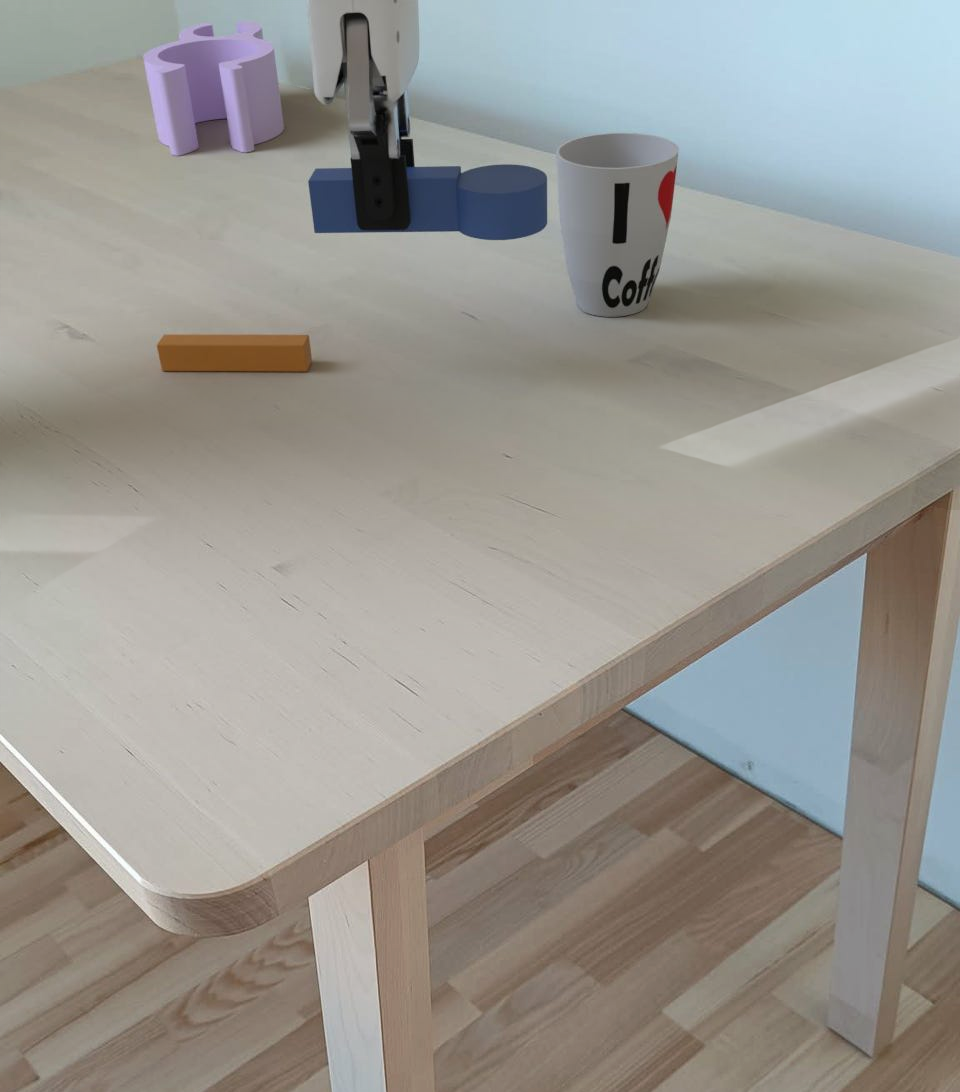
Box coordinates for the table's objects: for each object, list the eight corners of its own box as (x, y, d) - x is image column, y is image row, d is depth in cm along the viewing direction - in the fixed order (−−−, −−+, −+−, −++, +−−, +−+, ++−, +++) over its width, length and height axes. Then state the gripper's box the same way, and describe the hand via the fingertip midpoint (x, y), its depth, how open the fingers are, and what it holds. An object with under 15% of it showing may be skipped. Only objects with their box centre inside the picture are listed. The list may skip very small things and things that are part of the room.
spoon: (309, 242, 77) (302, 189, 75) (326, 211, 81) (320, 160, 79) (544, 240, 76) (544, 185, 74) (549, 208, 80) (549, 156, 78)
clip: (178, 100, 136) (164, 25, 131) (294, 95, 136) (285, 19, 131) (147, 157, 122) (130, 74, 117) (276, 150, 121) (265, 67, 117)
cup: (601, 335, 87) (605, 176, 80) (533, 300, 92) (532, 148, 85) (692, 306, 90) (704, 151, 83) (621, 273, 95) (627, 125, 88)
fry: (161, 371, 86) (156, 344, 84) (168, 360, 87) (163, 333, 86) (307, 372, 85) (303, 345, 84) (312, 360, 86) (308, 334, 85)
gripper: (313, -175, 72) (350, 179, 85) (249, -134, 60) (303, 268, 73) (444, -181, 71) (462, 177, 84) (405, -141, 60) (432, 267, 72)
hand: (388, 217), depth 78 cm, fingers closed on spoon, 2 cm apart
